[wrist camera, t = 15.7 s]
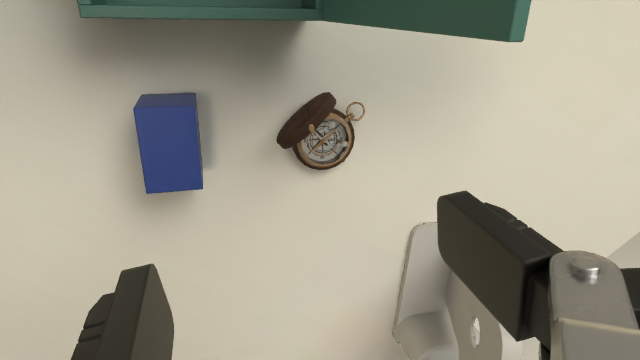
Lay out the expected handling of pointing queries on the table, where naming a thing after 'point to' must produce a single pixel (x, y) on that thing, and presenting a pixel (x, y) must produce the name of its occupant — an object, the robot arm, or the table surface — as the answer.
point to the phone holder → (444, 310)
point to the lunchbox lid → (437, 16)
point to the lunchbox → (203, 9)
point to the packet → (169, 142)
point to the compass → (319, 133)
